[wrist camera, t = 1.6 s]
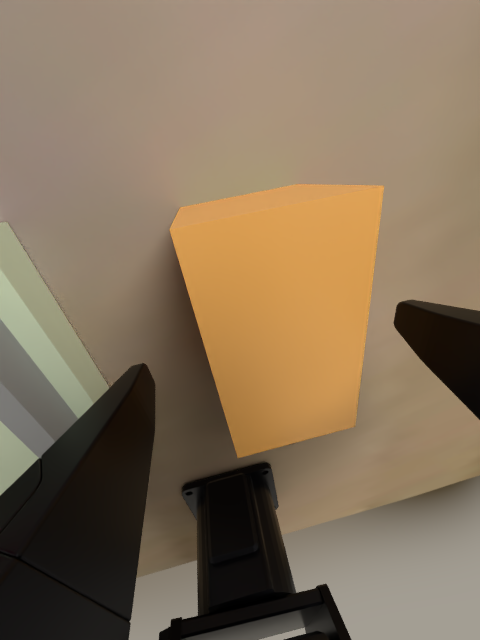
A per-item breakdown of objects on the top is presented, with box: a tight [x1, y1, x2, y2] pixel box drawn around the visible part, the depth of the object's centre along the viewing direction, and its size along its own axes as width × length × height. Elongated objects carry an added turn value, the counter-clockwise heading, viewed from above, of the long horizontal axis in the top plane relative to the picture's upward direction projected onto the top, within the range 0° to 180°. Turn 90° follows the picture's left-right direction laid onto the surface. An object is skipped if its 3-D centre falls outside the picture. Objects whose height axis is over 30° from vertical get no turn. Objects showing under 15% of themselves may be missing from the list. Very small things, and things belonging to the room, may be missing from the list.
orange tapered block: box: [169, 184, 384, 458], centre depth 9 cm, size 9×4×5 cm, turn 10°
